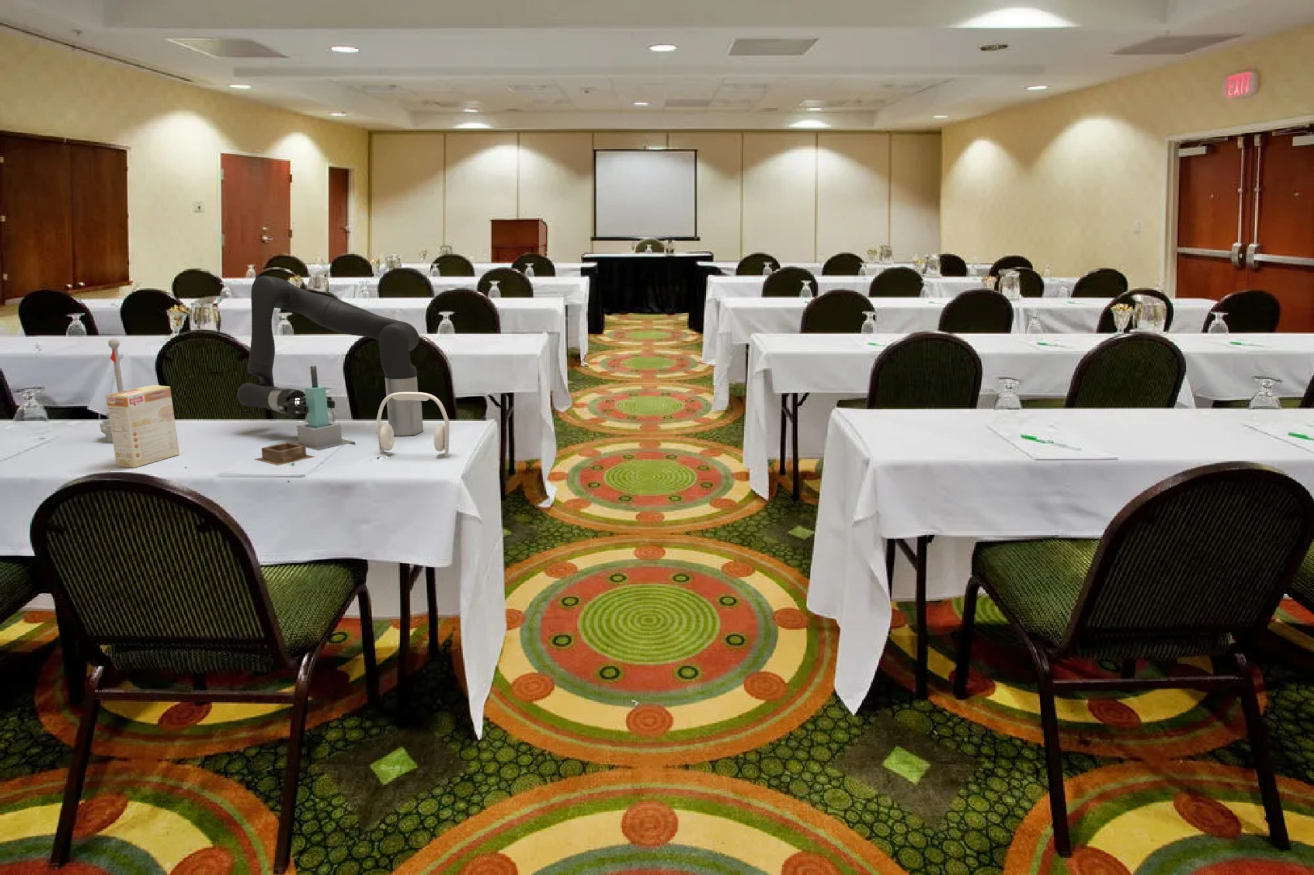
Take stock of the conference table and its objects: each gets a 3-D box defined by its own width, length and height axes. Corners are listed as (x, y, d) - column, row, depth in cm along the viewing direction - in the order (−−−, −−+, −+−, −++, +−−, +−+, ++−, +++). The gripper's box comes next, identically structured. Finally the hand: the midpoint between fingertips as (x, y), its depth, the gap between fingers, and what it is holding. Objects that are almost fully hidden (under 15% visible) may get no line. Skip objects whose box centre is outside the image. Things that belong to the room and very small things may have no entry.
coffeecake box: (161, 452, 269) (152, 384, 264) (180, 454, 266) (171, 385, 262) (114, 466, 255) (104, 394, 251) (134, 468, 253) (124, 395, 248)
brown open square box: (291, 454, 266) (289, 440, 265) (314, 460, 259) (313, 445, 258) (254, 462, 257) (253, 448, 256) (278, 469, 251) (276, 454, 250)
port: (321, 437, 285) (320, 418, 283) (355, 445, 275) (353, 424, 274) (285, 445, 275) (283, 425, 274) (319, 453, 266) (317, 432, 264)
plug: (321, 439, 278) (315, 364, 273) (330, 441, 275) (323, 366, 270) (309, 442, 275) (302, 366, 270) (318, 444, 272) (311, 368, 267)
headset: (454, 452, 266) (450, 389, 262) (446, 459, 259) (442, 394, 255) (383, 452, 267) (378, 389, 263) (374, 458, 260) (369, 394, 256)
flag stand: (109, 434, 291) (95, 336, 284) (156, 432, 294) (143, 334, 287) (96, 444, 279) (80, 342, 272) (145, 441, 282) (131, 340, 275)
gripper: (264, 392, 274) (297, 398, 265) (307, 384, 285) (341, 390, 276) (266, 417, 276) (299, 424, 267) (310, 409, 287) (343, 415, 278)
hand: (320, 407), depth 271 cm, fingers open, 8 cm apart
